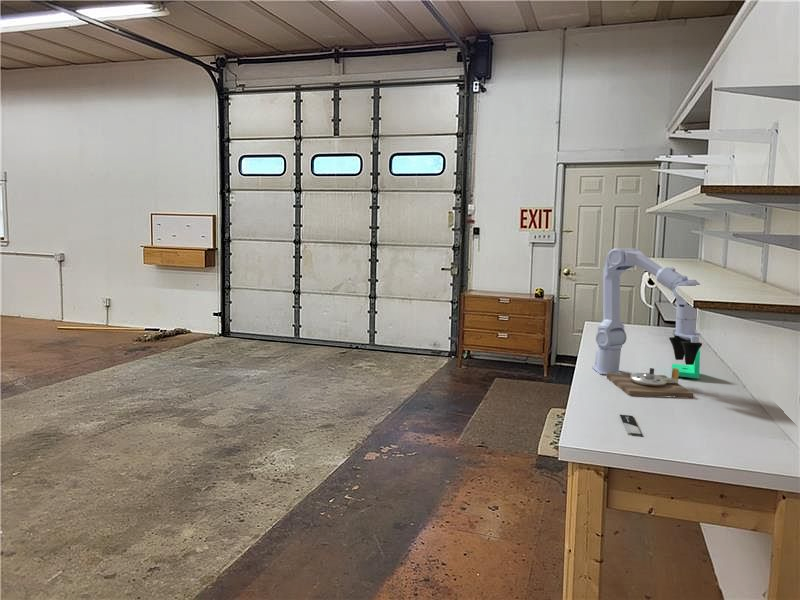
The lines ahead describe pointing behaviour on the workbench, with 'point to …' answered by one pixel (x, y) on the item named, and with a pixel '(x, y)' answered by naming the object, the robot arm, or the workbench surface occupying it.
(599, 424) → the workbench surface
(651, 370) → the dowel pin
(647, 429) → the workbench surface
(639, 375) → the flange plate
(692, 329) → the robot arm
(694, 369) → the camera mount
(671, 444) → the workbench surface
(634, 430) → the computer memory module
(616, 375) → the fixture board
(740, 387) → the workbench surface
